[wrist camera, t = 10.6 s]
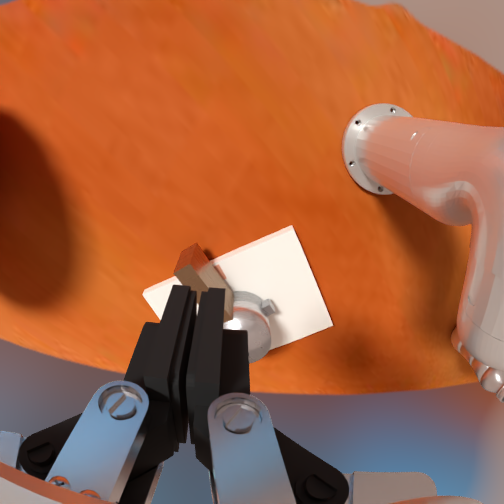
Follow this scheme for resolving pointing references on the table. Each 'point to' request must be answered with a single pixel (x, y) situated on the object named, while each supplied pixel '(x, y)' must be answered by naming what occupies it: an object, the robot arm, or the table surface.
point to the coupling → (229, 300)
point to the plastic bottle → (481, 369)
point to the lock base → (267, 285)
